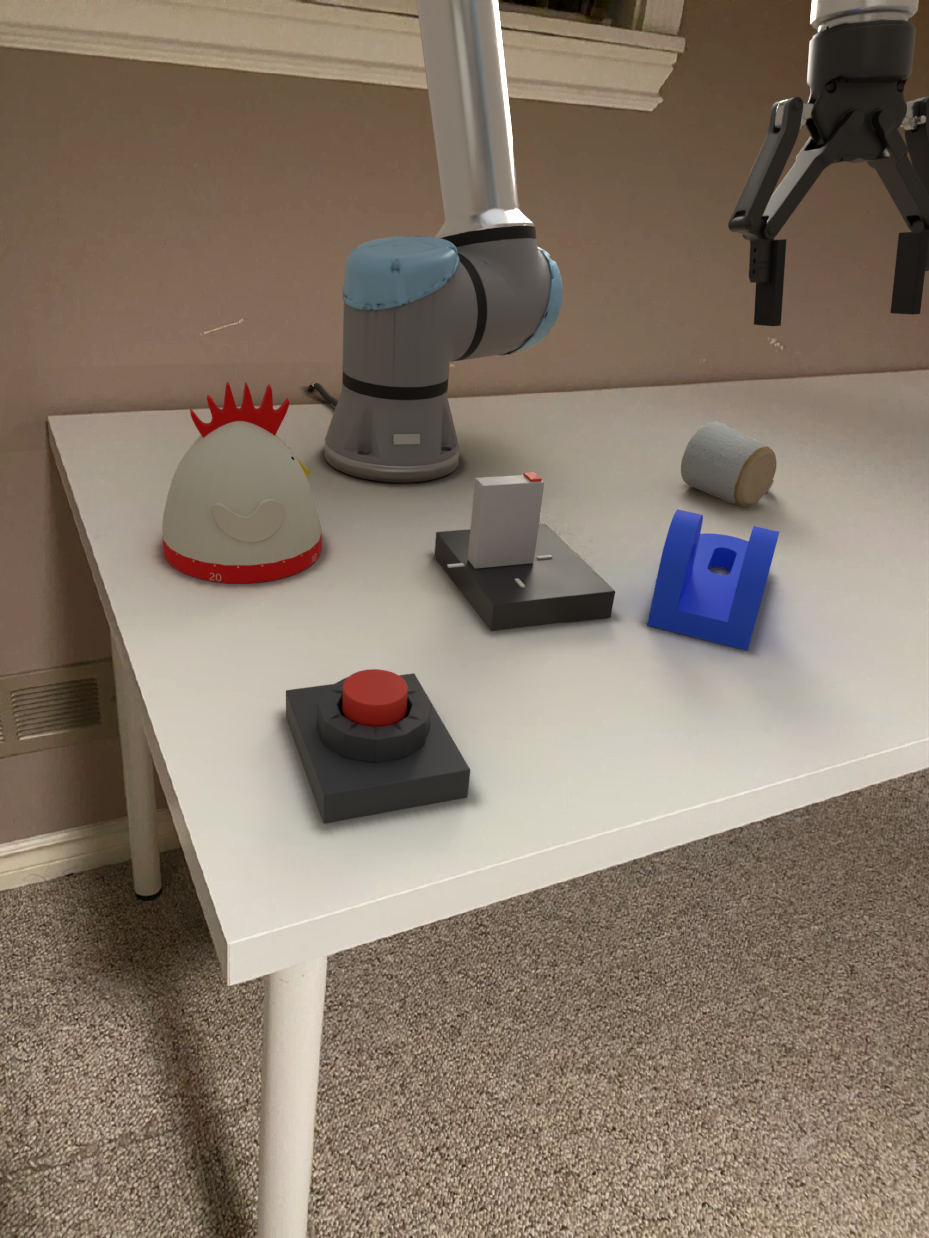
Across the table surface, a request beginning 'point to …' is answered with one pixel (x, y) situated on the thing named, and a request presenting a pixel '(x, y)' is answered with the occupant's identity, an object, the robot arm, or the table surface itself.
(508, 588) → the panel
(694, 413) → the table surface
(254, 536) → the kitchen timer
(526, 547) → the grey upright block
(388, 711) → the stop button
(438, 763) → the stop housing
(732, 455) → the wooden log
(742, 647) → the bracket
